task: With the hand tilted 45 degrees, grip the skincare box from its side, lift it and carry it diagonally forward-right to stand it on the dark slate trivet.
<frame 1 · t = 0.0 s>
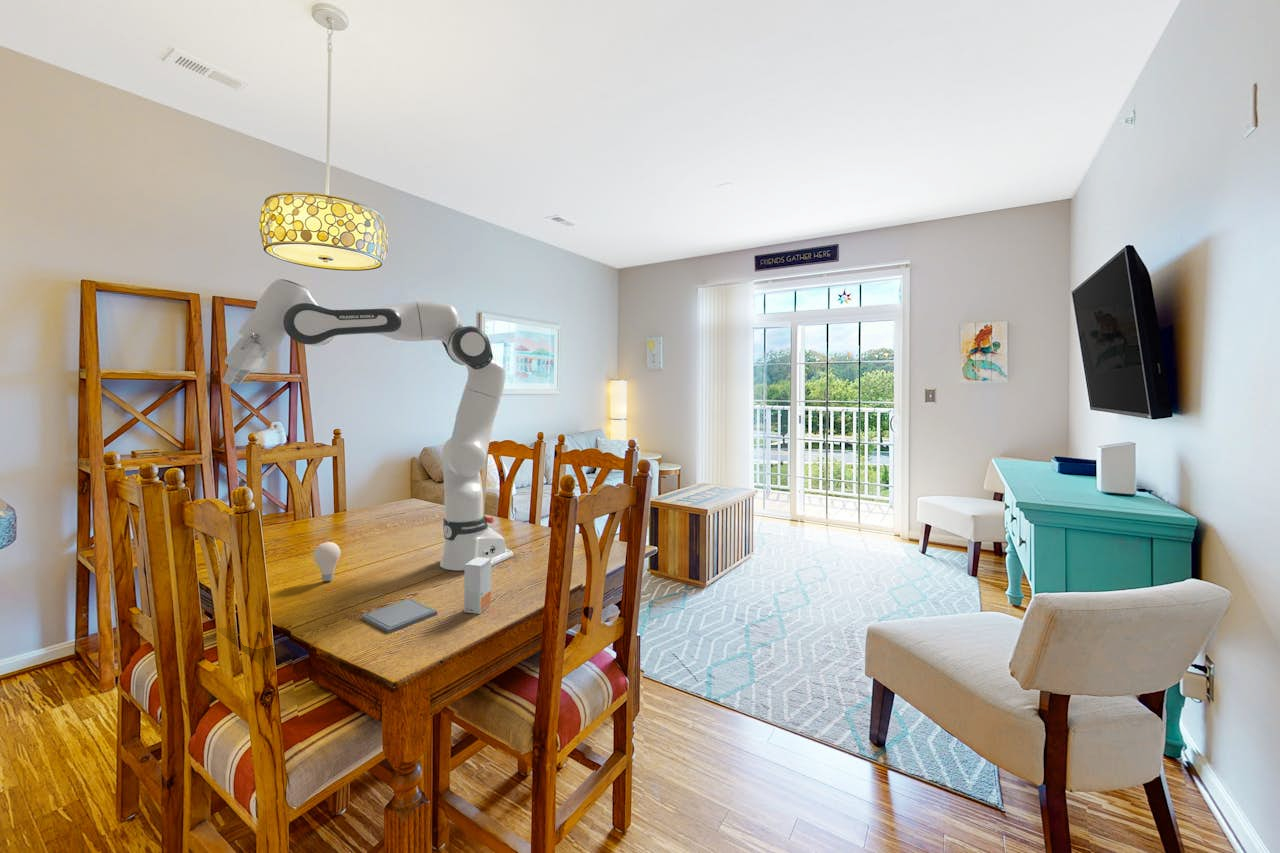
hand: (231, 383, 132), 54 cm above the table, tool tilted 30°, fingers open, 8 cm apart
slate trivet: (399, 616, 124), on the table
light bulb: (328, 582, 144), on the table
skincare box: (478, 609, 129), on the table
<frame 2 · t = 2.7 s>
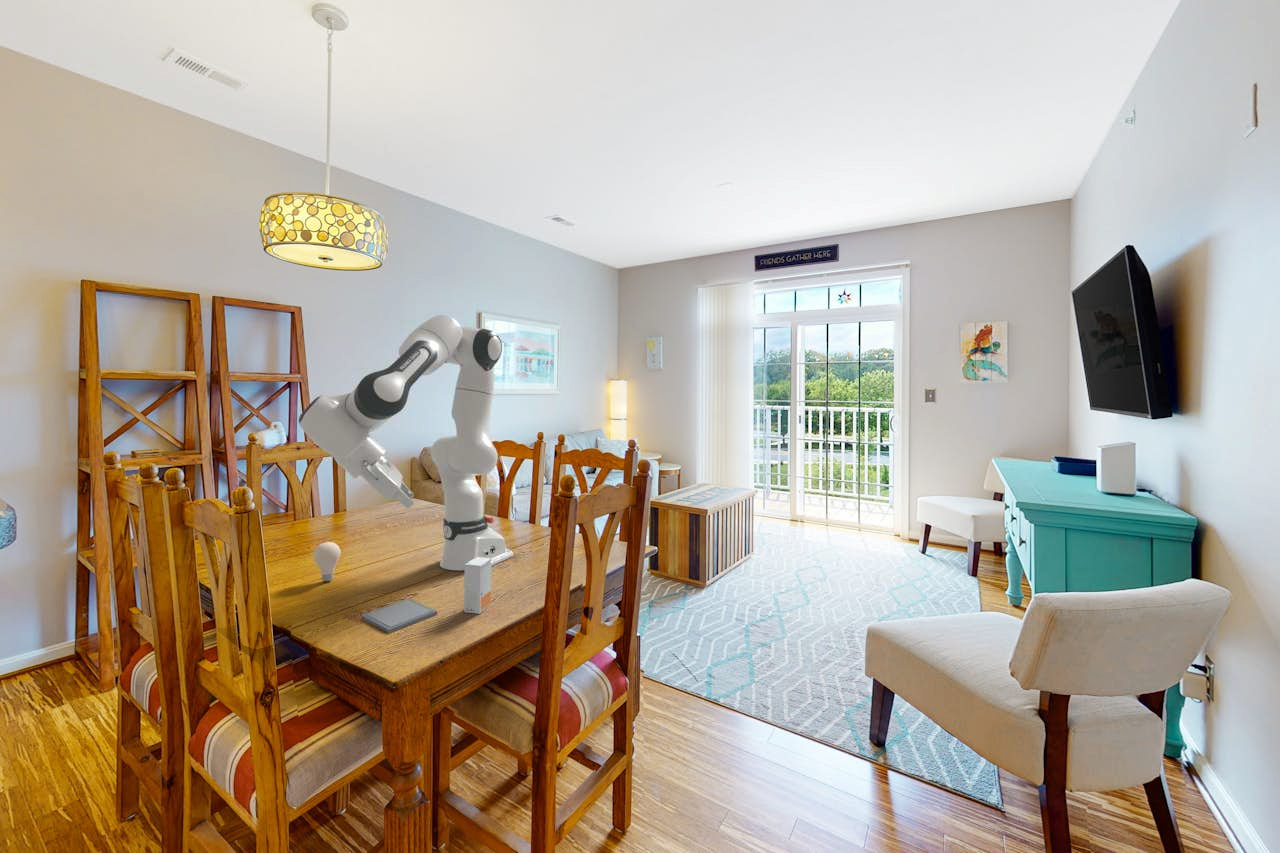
hand: (411, 501, 121), 28 cm above the table, tool tilted 40°, fingers open, 8 cm apart
nothing on the table moved.
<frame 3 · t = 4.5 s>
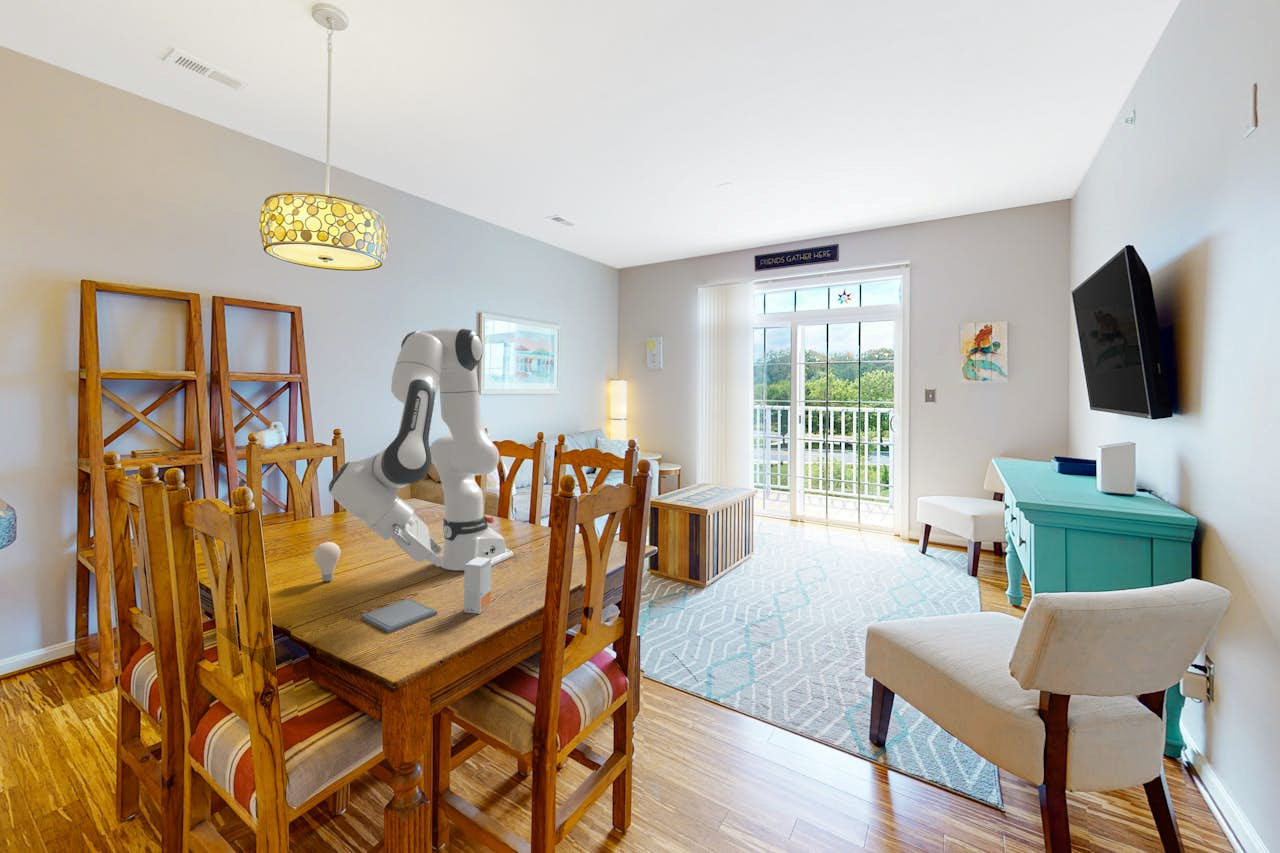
hand: (440, 557, 124), 14 cm above the table, tool tilted 45°, fingers open, 8 cm apart
nothing on the table moved.
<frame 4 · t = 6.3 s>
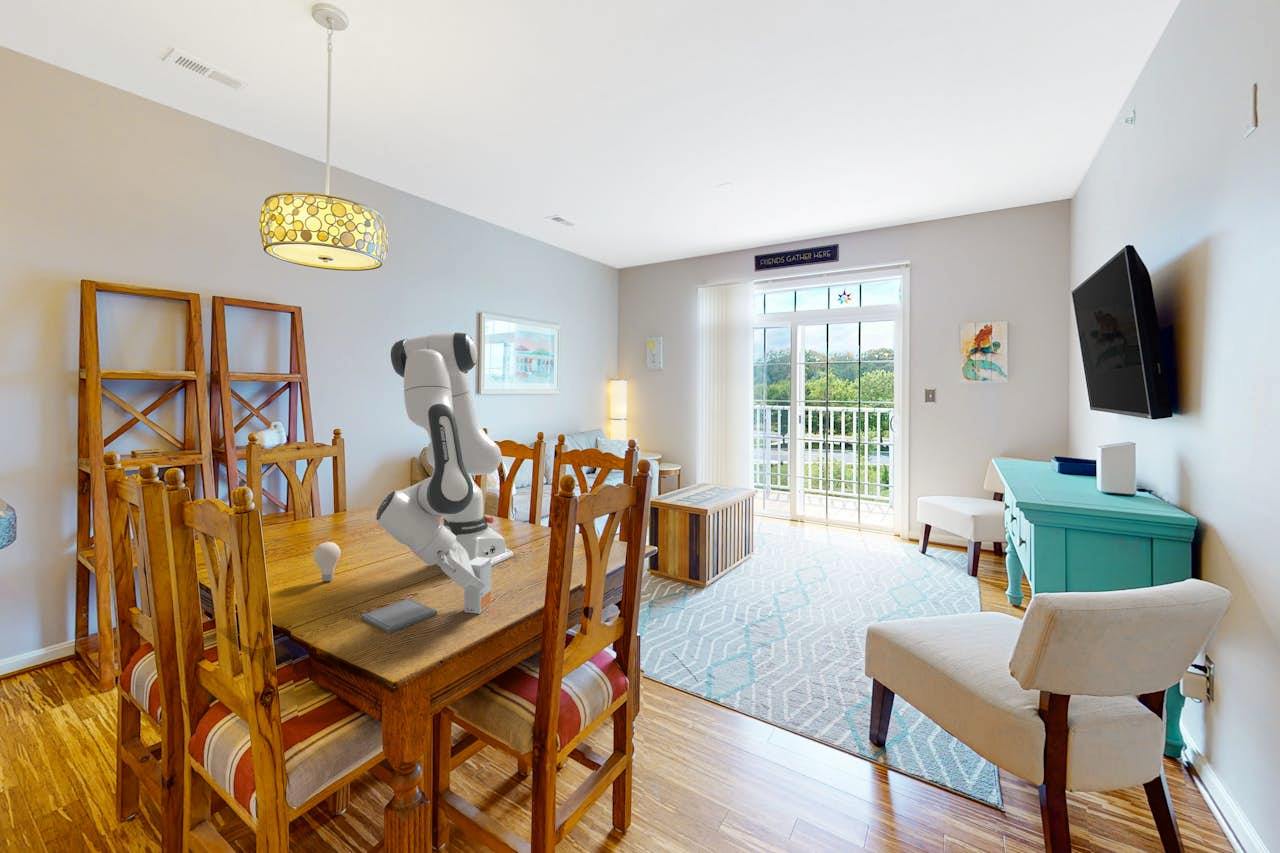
hand: (480, 580, 129), 7 cm above the table, tool tilted 45°, fingers closed on skincare box, 7 cm apart
skincare box: (478, 609, 129), on the table, touching gripper
everything else where it was.
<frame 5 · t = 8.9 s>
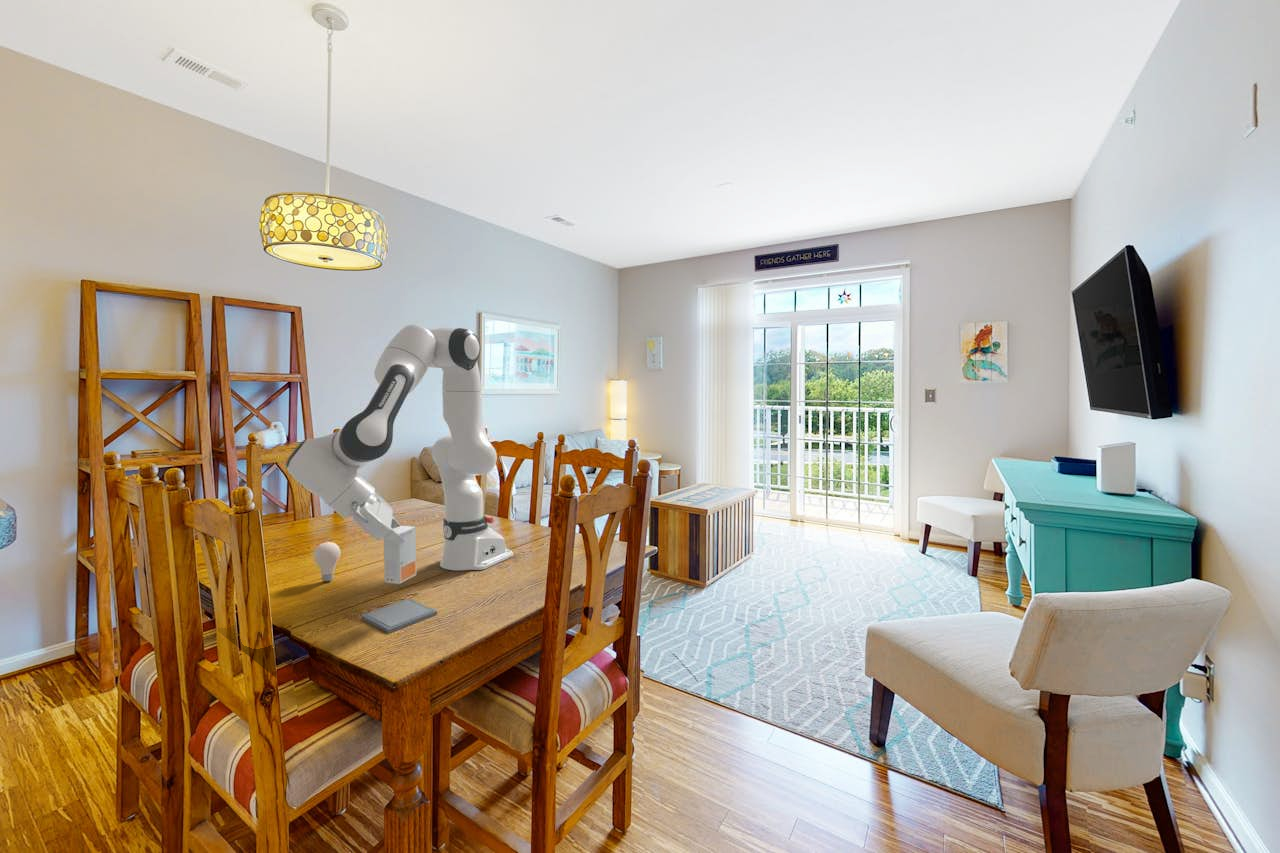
hand: (402, 537, 122), 19 cm above the table, tool tilted 45°, fingers closed on skincare box, 7 cm apart
skincare box: (401, 579, 123), point 9 cm above the table, touching gripper
everything else where it was.
when the fingers open (8 cm above the table, at t = 11.7 s): skincare box stays where it is, resting on slate trivet.
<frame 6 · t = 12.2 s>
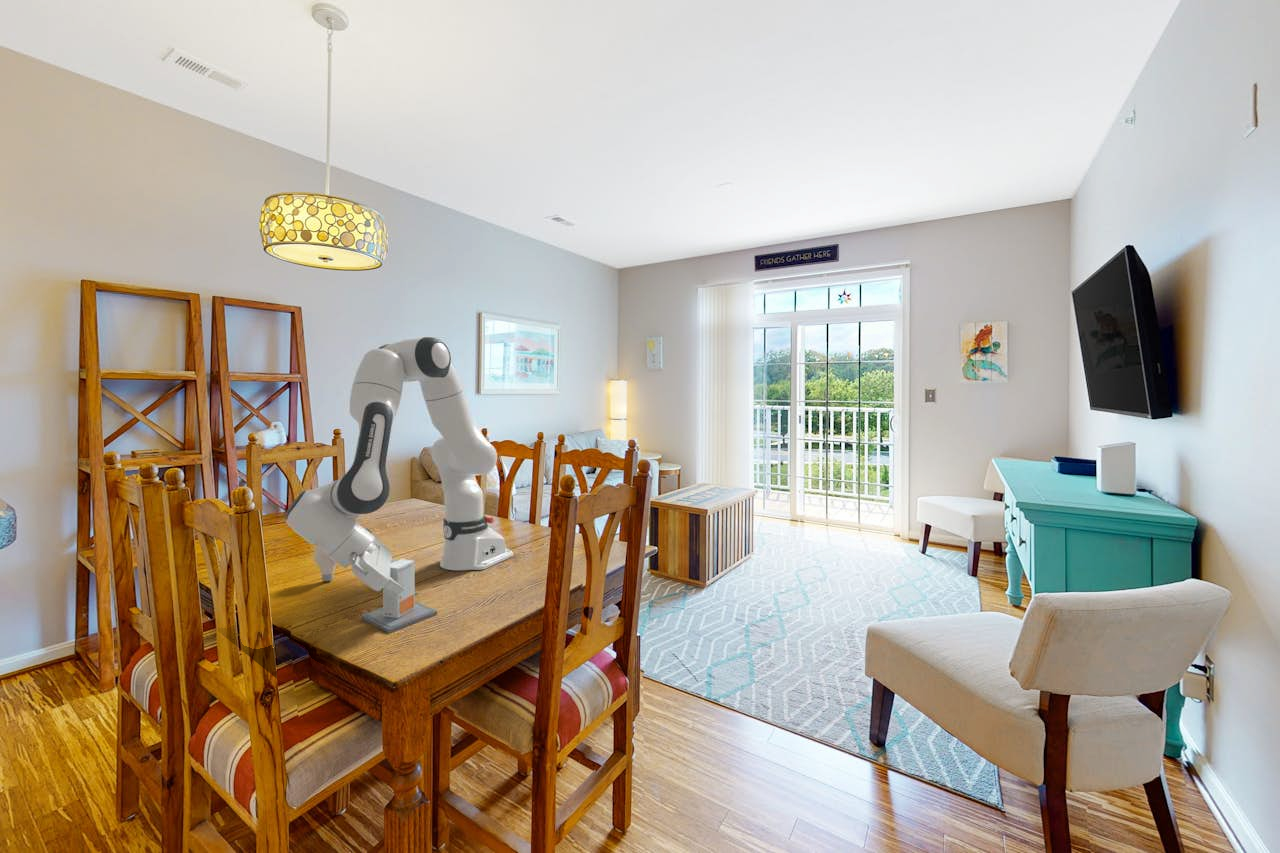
hand: (401, 583, 123), 8 cm above the table, tool tilted 45°, fingers open, 8 cm apart
skincare box: (399, 613, 124), point 1 cm above the table, touching slate trivet
everything else where it was.
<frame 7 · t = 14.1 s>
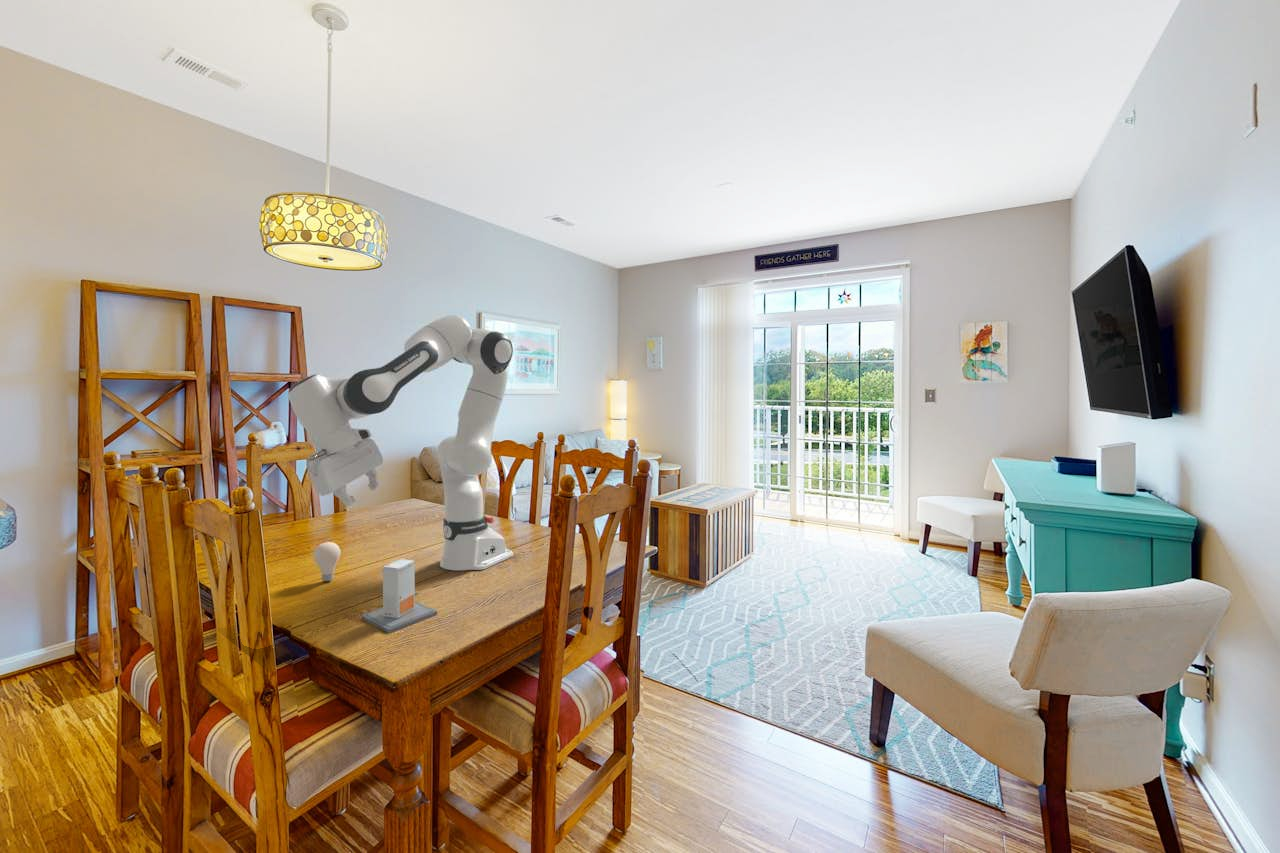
hand: (363, 496, 124), 28 cm above the table, tool tilted 25°, fingers open, 8 cm apart
nothing on the table moved.
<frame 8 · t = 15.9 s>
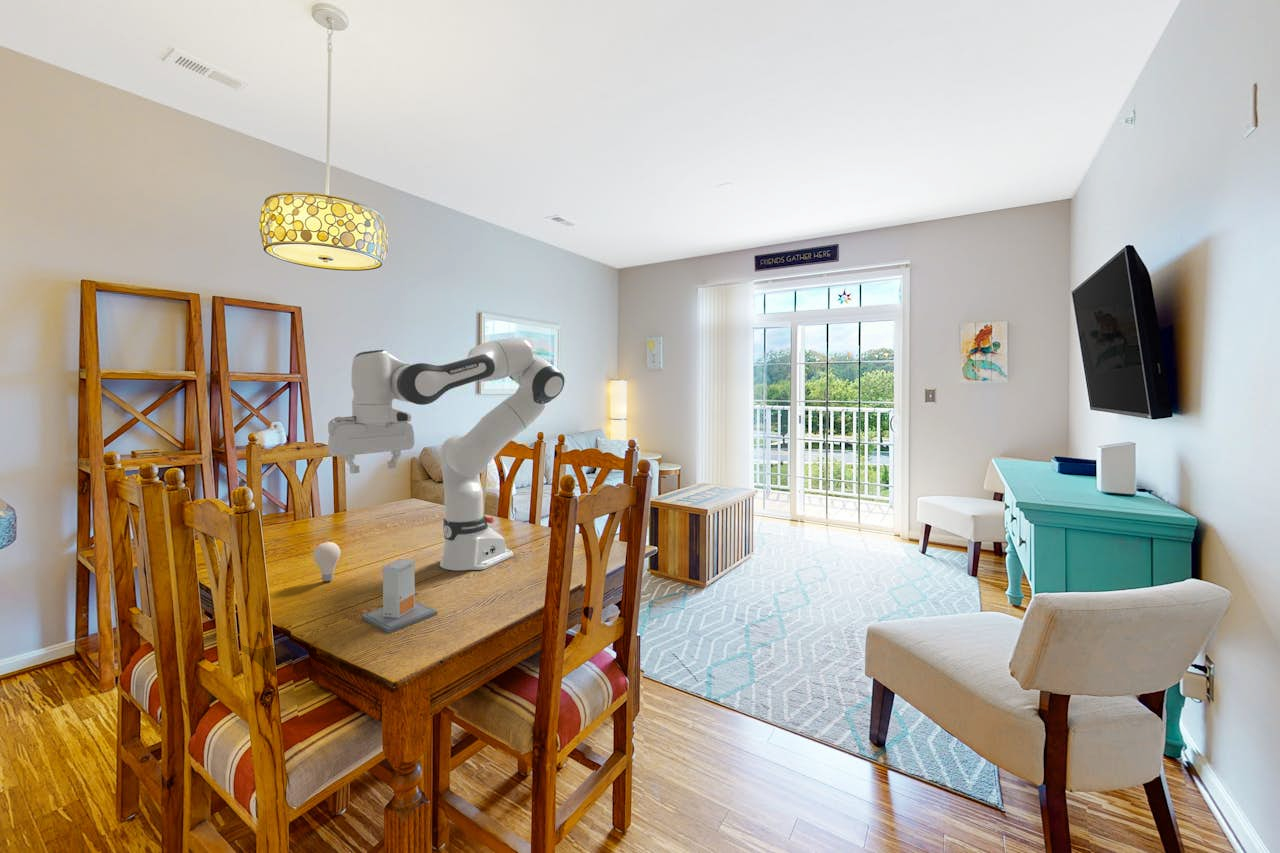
hand: (373, 470, 131), 33 cm above the table, tool pointing down, fingers open, 8 cm apart
nothing on the table moved.
at the end: skincare box inside the target area on the slate trivet (0.0 cm from its centre), point 0.7 cm above the slate trivet's base; skincare box tilted 0°; the gripper is holding nothing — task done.
